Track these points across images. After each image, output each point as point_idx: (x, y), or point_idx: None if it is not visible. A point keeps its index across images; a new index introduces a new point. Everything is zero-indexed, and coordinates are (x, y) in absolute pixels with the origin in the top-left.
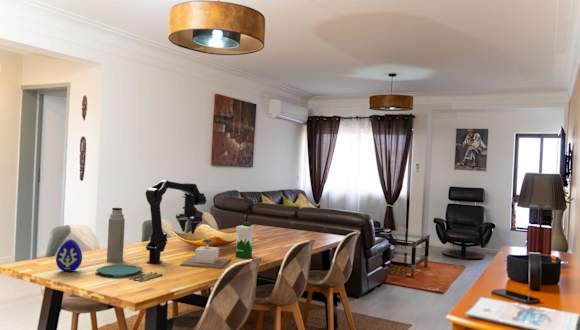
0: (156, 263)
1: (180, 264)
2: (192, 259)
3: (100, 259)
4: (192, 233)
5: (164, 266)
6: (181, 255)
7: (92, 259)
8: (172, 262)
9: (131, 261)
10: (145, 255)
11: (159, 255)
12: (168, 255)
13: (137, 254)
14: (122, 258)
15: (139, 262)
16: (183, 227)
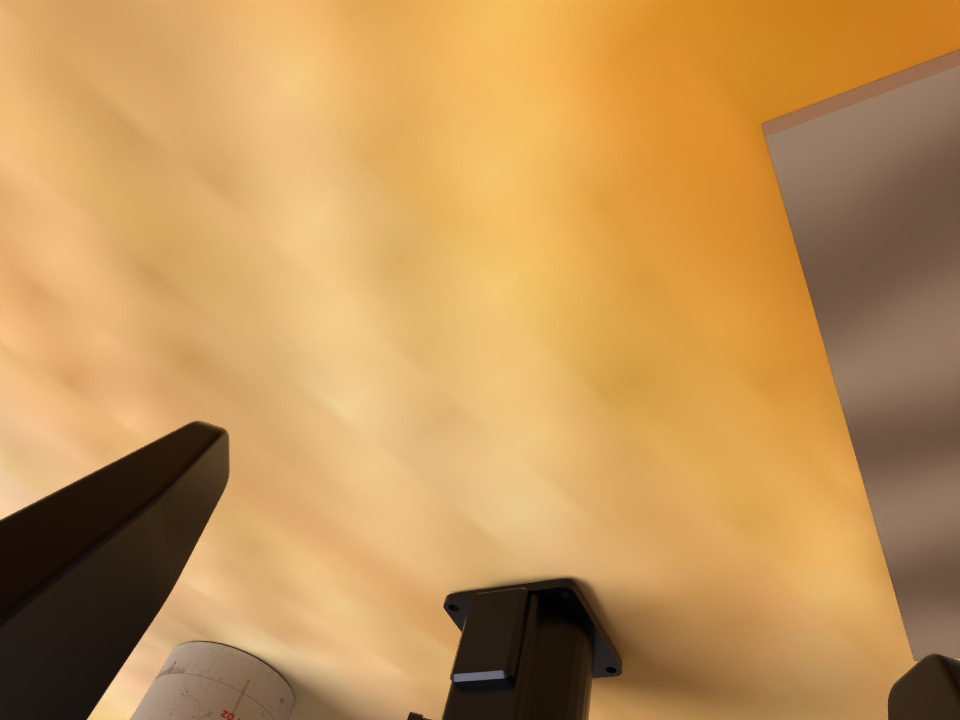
0: (607, 670)
1: (917, 651)
2: (953, 409)
3: (138, 685)
4: (934, 710)
5: (756, 703)
6: (443, 119)
7: (113, 699)
8: (701, 556)
9: (342, 661)
10: (147, 430)
11: (586, 715)
12: (304, 265)
13: (53, 435)
14: (266, 692)
15: (425, 665)
16: (101, 623)
